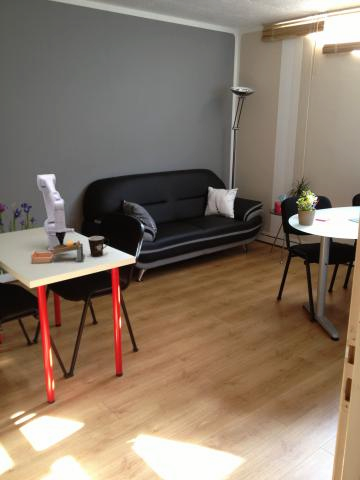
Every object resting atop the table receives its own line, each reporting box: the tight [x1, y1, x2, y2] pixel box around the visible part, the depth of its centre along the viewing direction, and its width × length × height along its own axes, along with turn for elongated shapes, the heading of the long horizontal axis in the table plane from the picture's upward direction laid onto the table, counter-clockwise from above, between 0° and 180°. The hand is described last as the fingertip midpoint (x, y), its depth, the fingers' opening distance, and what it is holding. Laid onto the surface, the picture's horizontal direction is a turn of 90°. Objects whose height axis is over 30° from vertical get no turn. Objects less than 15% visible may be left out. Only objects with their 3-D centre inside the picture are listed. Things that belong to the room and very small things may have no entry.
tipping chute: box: [50, 240, 83, 255], centre depth 241 cm, size 15×15×3 cm
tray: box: [30, 248, 55, 265], centre depth 238 cm, size 10×10×5 cm
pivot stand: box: [75, 243, 86, 263], centre depth 240 cm, size 11×4×7 cm, turn 6°
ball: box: [66, 240, 75, 247], centre depth 238 cm, size 4×4×4 cm
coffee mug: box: [87, 235, 110, 258], centre depth 246 cm, size 12×9×10 cm
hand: (61, 245), depth 246 cm, fingers closed
